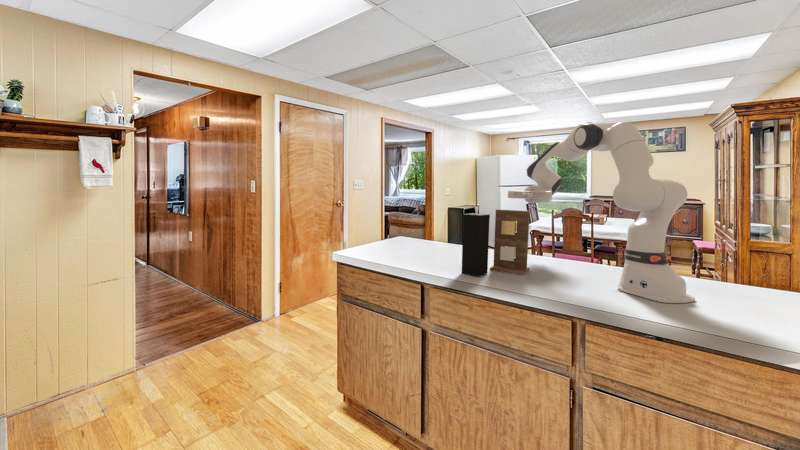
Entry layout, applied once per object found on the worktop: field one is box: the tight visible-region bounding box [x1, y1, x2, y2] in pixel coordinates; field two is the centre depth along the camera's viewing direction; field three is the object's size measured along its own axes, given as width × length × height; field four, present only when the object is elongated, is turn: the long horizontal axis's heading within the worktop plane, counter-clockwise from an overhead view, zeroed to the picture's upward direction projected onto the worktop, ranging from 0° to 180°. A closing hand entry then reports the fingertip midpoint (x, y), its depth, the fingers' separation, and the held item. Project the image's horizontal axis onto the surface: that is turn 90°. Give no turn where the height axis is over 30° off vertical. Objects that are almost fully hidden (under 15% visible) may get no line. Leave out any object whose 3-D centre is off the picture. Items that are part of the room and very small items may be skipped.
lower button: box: [500, 246, 516, 261], centre depth 154 cm, size 7×6×6 cm
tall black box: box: [461, 206, 491, 277], centre depth 148 cm, size 8×8×28 cm
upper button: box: [501, 221, 517, 235], centre depth 153 cm, size 7×6×6 cm
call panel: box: [489, 208, 531, 276], centre depth 154 cm, size 10×14×26 cm
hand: (525, 195), depth 168 cm, fingers closed
